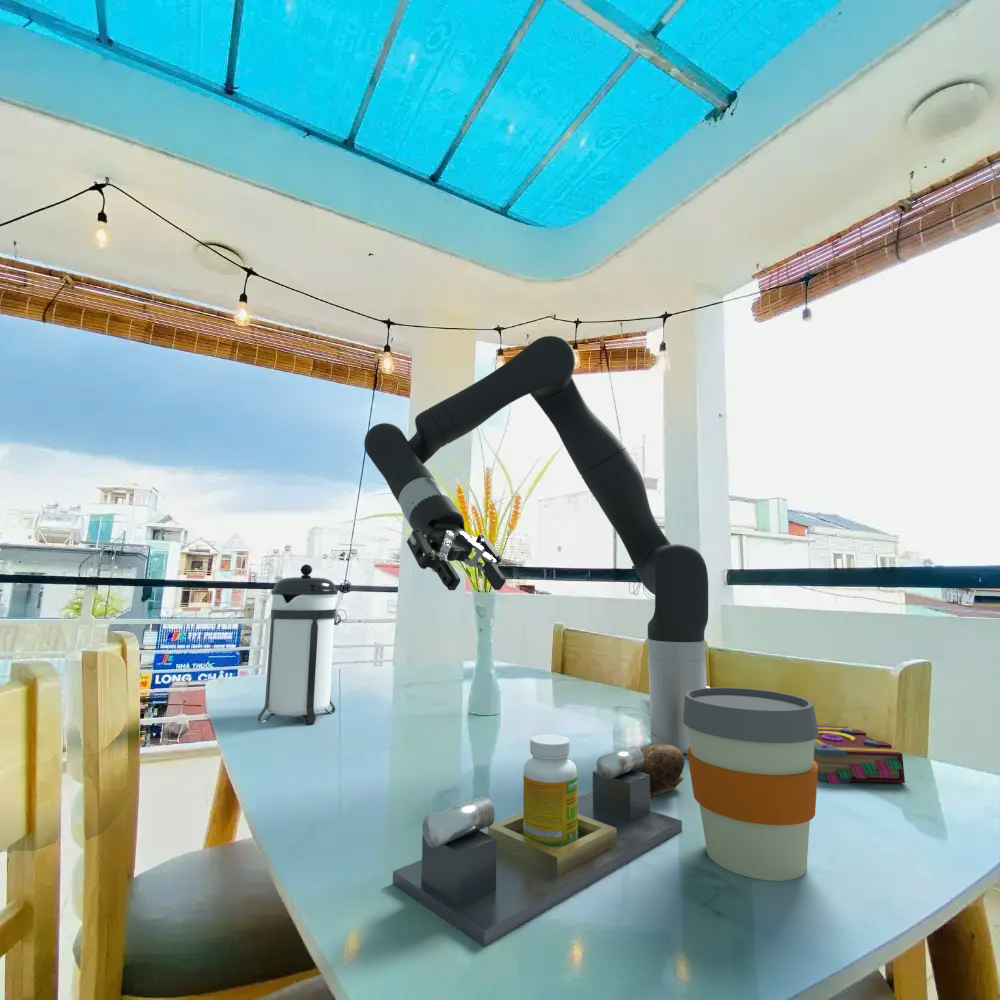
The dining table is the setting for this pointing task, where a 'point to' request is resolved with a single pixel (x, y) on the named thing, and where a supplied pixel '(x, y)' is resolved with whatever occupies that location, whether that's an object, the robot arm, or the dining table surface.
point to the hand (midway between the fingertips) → (479, 586)
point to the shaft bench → (531, 852)
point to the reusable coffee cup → (753, 777)
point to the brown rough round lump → (662, 767)
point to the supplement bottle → (550, 792)
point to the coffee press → (300, 647)
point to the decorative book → (855, 757)
